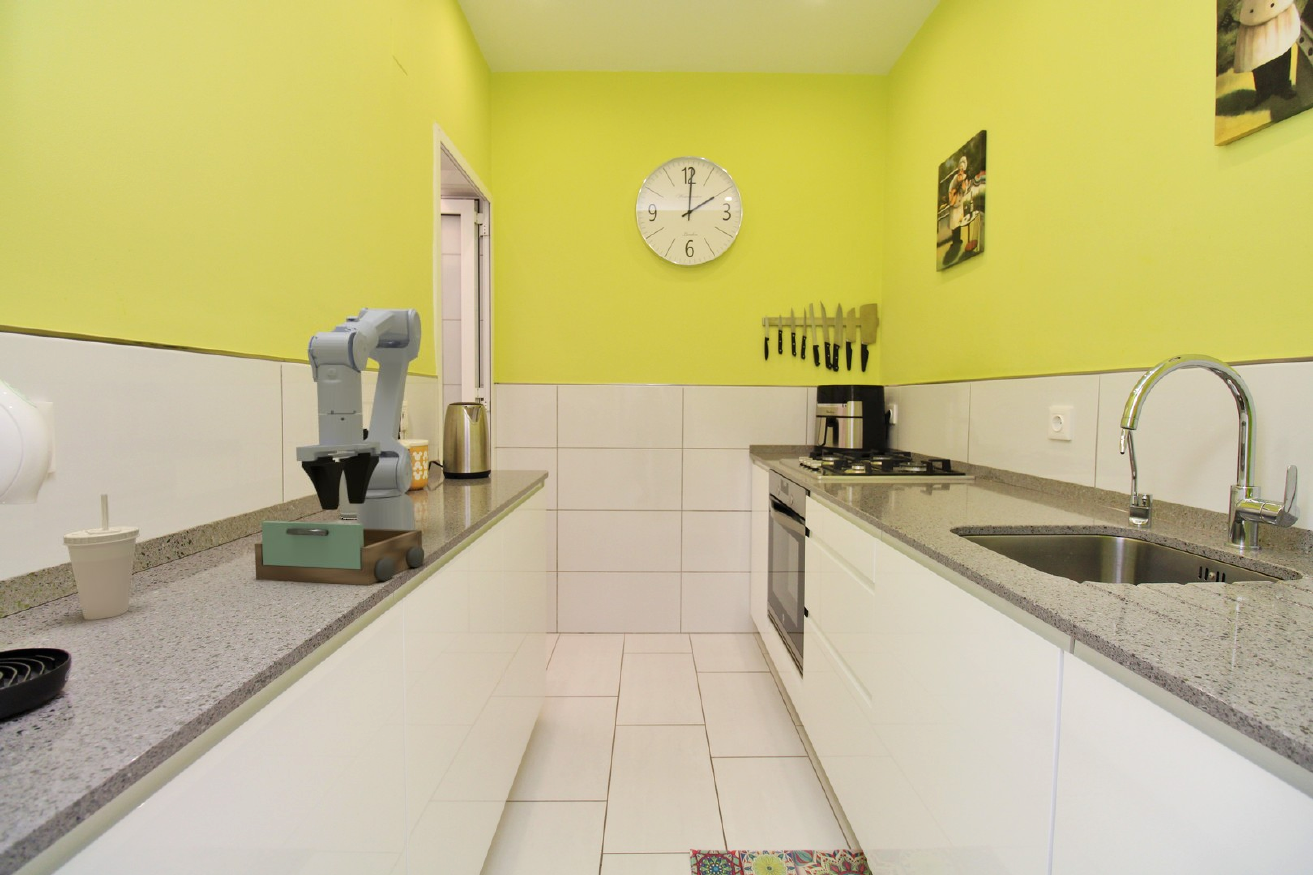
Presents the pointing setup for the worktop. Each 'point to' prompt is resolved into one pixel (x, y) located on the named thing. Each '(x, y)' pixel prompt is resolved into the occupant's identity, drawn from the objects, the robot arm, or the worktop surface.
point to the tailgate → (312, 544)
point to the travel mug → (345, 507)
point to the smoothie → (103, 566)
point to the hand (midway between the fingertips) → (343, 506)
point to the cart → (379, 560)
